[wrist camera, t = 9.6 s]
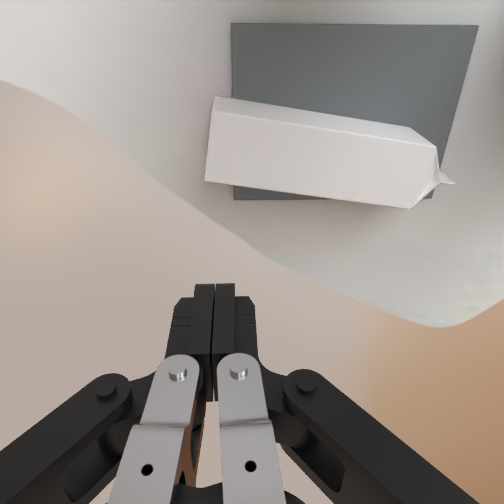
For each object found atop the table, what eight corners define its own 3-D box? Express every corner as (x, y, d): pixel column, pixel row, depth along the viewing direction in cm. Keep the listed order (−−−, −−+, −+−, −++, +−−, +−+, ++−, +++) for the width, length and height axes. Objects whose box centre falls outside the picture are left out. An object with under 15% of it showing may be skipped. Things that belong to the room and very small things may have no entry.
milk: (210, 110, 31) (473, 150, 33) (213, 94, 36) (441, 130, 38) (203, 183, 34) (443, 214, 37) (207, 159, 39) (417, 188, 42)
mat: (231, 23, 33) (231, 23, 33) (475, 25, 34) (479, 25, 34) (234, 198, 42) (234, 200, 41) (429, 196, 43) (431, 198, 42)
